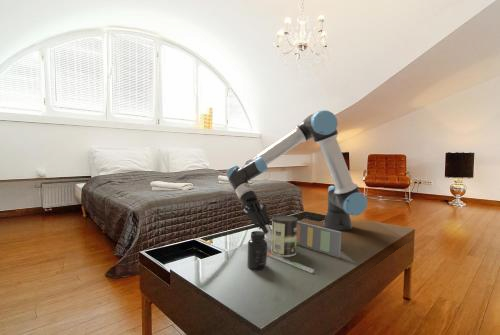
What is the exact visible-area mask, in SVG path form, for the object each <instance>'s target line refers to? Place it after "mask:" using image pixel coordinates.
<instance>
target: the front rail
mask: <svg viewBox="0 0 500 335" xmlns="http://www.w3.org/2000/svg"><path fill="white" fill-rule="evenodd" d="M267 257H270V258H273V259H275V260H277V261H280V262H283V263H284V264H287V265H289V266H292V267H295V268H296V269H297V268H298V269H300V270H303V271H304V272H307V273H309V274H314V273H315V269H314V268H311V267H308V266H306V265H304V264H301V263H298V262H295V261H293V260H290V259H288V258H286V257H281V256H278V255H275V254H273V253H272V252H269V251H267Z"/></svg>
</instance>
